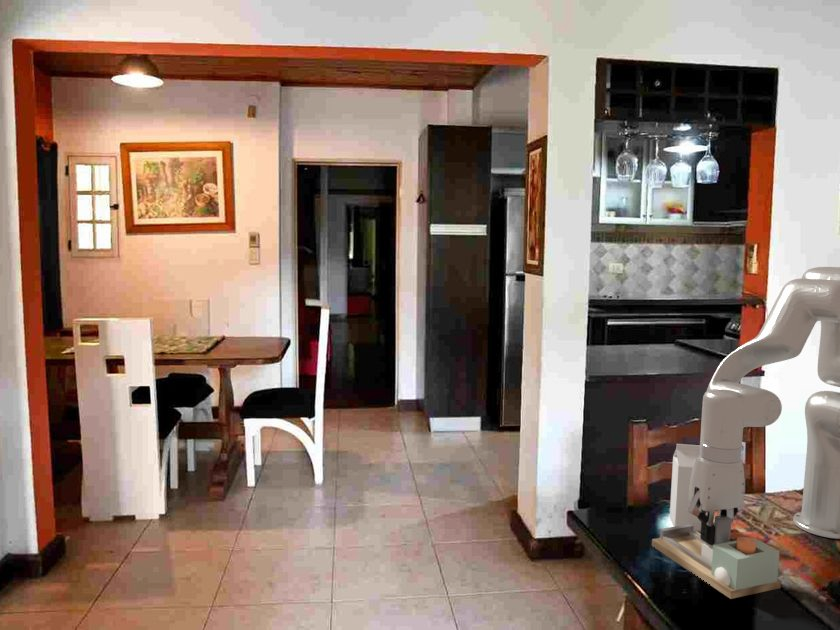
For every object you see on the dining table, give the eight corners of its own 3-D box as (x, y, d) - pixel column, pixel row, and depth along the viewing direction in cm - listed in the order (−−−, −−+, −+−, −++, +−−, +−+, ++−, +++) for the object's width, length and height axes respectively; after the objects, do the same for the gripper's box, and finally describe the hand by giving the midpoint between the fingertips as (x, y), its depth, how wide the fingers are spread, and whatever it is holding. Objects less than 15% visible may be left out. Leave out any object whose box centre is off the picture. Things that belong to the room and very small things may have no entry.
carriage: (720, 554, 135) (723, 512, 134) (739, 565, 131) (743, 522, 129) (701, 557, 134) (703, 515, 132) (719, 569, 129) (722, 525, 128)
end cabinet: (751, 573, 131) (753, 537, 130) (776, 588, 126) (779, 551, 125) (709, 582, 128) (711, 545, 127) (733, 598, 122) (736, 559, 121)
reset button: (745, 550, 128) (746, 535, 128) (758, 558, 125) (760, 543, 125) (732, 553, 127) (733, 538, 127) (745, 560, 124) (746, 545, 124)
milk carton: (708, 533, 149) (713, 451, 147) (674, 530, 150) (679, 448, 148) (701, 519, 156) (706, 441, 154) (669, 517, 157) (674, 439, 155)
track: (696, 537, 146) (697, 522, 146) (780, 588, 126) (781, 570, 125) (651, 545, 142) (652, 530, 142) (730, 598, 122) (731, 581, 121)
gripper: (739, 443, 137) (733, 527, 139) (673, 450, 132) (668, 538, 134) (768, 454, 130) (761, 543, 132) (699, 462, 125) (694, 555, 127)
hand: (714, 540), depth 133 cm, fingers closed on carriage, 3 cm apart
